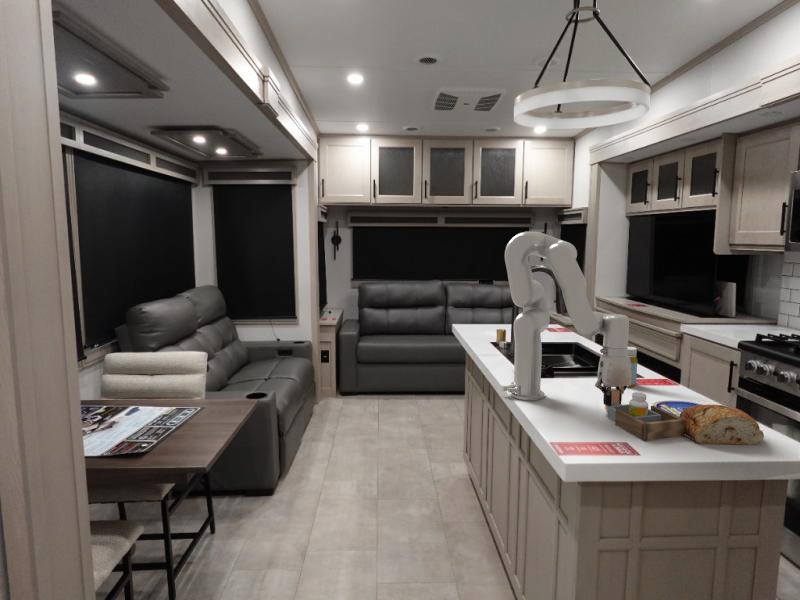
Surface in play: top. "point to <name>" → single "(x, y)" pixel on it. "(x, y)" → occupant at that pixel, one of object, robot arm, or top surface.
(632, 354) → the bottle
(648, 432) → the wooden tray
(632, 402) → the supplement bottle
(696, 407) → the bread
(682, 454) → the top surface
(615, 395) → the grey tray with handle
